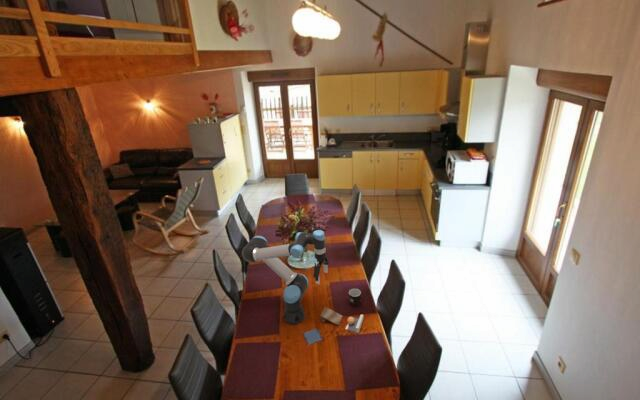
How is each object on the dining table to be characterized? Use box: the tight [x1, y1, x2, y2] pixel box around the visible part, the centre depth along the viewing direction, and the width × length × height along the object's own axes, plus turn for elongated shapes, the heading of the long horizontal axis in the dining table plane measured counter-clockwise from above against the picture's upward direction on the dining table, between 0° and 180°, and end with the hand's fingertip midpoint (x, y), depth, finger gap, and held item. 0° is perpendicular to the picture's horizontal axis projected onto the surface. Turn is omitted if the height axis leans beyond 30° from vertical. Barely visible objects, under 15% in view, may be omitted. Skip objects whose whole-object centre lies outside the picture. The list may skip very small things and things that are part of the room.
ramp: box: [319, 306, 344, 326], centre depth 232 cm, size 13×9×6 cm
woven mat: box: [302, 328, 323, 346], centre depth 219 cm, size 10×11×2 cm
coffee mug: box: [348, 288, 365, 307], centre depth 243 cm, size 12×9×10 cm
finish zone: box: [345, 314, 364, 334], centre depth 226 cm, size 9×13×4 cm
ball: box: [346, 316, 355, 325], centre depth 227 cm, size 5×5×5 cm
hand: (321, 278), depth 233 cm, fingers open, 13 cm apart
